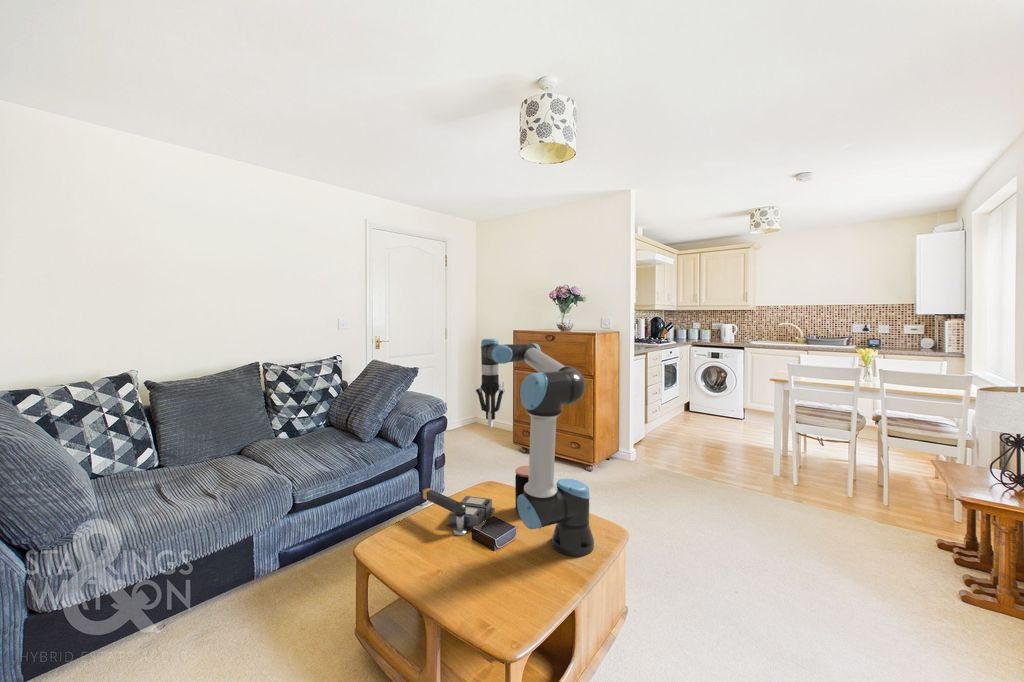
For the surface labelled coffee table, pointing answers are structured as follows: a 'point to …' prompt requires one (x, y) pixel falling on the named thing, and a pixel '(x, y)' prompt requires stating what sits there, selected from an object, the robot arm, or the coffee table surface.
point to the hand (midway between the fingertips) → (490, 426)
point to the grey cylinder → (460, 526)
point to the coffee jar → (521, 481)
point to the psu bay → (473, 512)
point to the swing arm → (445, 502)
